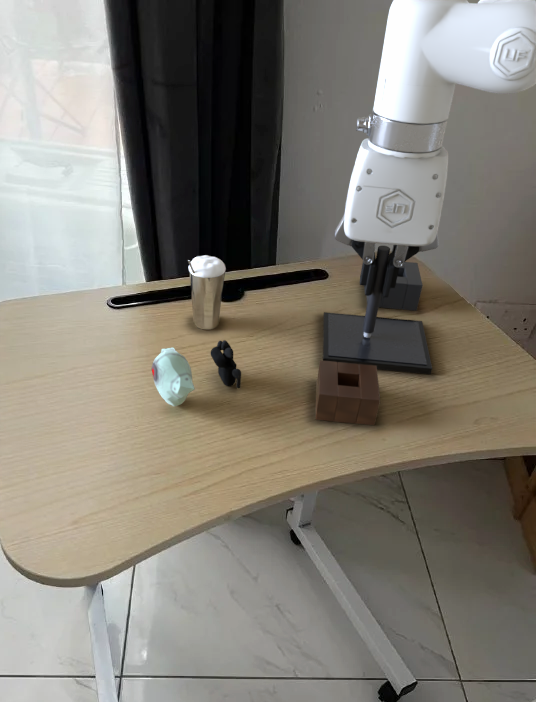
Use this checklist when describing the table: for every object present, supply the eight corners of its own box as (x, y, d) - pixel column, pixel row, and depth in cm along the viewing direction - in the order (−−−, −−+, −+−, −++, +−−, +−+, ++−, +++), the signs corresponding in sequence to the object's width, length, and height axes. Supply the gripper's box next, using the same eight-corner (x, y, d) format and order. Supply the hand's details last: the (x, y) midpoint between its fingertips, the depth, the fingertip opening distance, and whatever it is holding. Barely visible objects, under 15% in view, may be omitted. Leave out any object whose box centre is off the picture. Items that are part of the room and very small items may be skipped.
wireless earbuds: (243, 397, 74) (245, 360, 71) (222, 401, 73) (223, 364, 70) (223, 363, 79) (224, 327, 76) (203, 366, 79) (203, 330, 75)
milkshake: (176, 324, 86) (175, 253, 79) (206, 310, 89) (208, 241, 83) (200, 339, 83) (201, 267, 77) (230, 324, 86) (233, 253, 80)
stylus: (372, 333, 84) (389, 245, 76) (372, 339, 83) (390, 251, 75) (361, 332, 84) (377, 244, 76) (361, 338, 83) (378, 250, 75)
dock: (411, 287, 96) (417, 262, 94) (416, 311, 91) (422, 285, 89) (365, 283, 97) (369, 258, 94) (367, 306, 91) (372, 280, 89)
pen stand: (371, 390, 76) (376, 365, 74) (374, 425, 71) (380, 400, 69) (316, 384, 77) (319, 360, 74) (315, 419, 72) (319, 394, 69)
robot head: (201, 422, 70) (201, 371, 66) (163, 430, 69) (162, 378, 65) (179, 380, 76) (179, 330, 72) (145, 386, 75) (142, 336, 71)
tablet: (420, 326, 88) (422, 320, 87) (430, 374, 79) (432, 367, 79) (323, 317, 89) (323, 311, 88) (322, 364, 80) (323, 357, 79)
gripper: (330, 137, 65) (310, 300, 77) (490, 150, 64) (445, 313, 76) (330, 117, 71) (311, 271, 83) (476, 127, 70) (437, 282, 82)
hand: (375, 290), depth 79 cm, fingers closed on stylus, 1 cm apart
